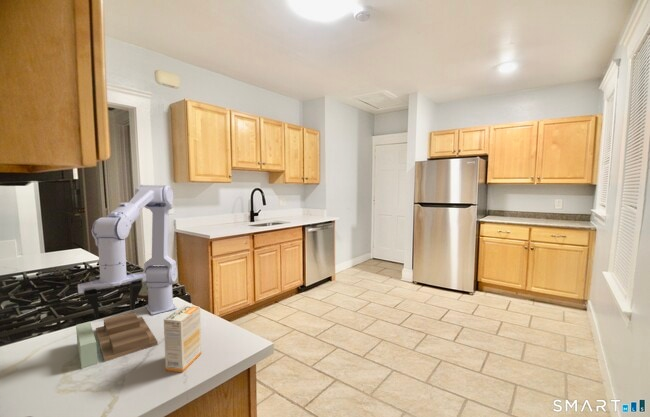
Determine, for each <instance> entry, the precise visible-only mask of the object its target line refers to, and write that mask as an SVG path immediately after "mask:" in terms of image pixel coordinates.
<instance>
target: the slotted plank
mask: <svg viewBox="0 0 650 417" xmlns="http://www.w3.org/2000/svg"><path fill="white" fill-rule="evenodd" d="M95 333H96V336H97V340H98V343H99V347H100V348H99V349H100V351H101V354H102V358H103V362H108V361H112V360H114V359H117V358H120V357H123V356H126V355H130V354H132V353H133V354H134V353H136V352H139V351H142V350H145V349H149V348H151V347H155V346H158V340H157V338H156V337H155V335H154V332H152V330H151V329H150V327H149V325H148V324H147V323H146V321H145V319H144V318H143V316H137V314H136V313H135V312H131V313H126V314H122V315H118V316H114V317H113V316H112V317H110V318H105V319H103V326H99V327H96V328H95Z"/></svg>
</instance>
